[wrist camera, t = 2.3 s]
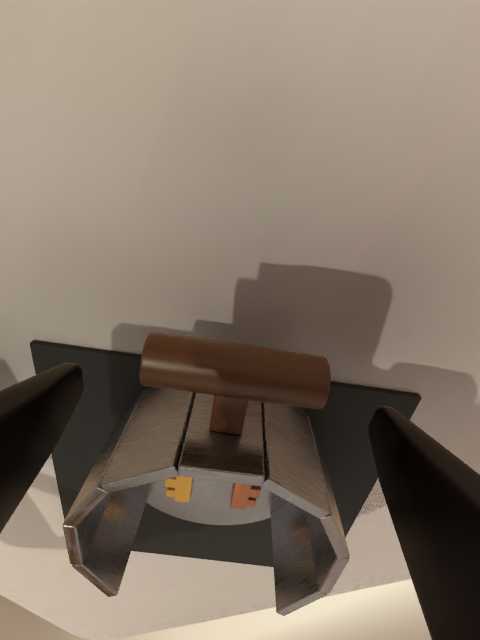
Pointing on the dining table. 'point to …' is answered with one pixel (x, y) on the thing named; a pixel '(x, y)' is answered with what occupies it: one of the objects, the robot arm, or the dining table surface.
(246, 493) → the copper key
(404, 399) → the mat
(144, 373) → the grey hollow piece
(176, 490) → the brass key
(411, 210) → the dining table surface
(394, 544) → the dining table surface
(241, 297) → the dining table surface
